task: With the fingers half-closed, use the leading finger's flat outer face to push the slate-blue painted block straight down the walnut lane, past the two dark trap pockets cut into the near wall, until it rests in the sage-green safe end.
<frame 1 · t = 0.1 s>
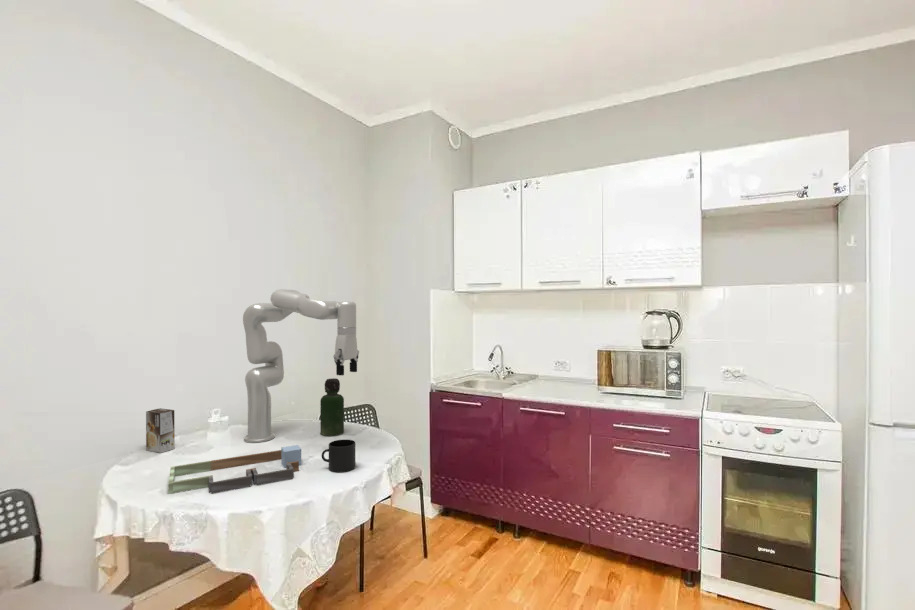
hand: (346, 373, 186), 31 cm above the table, tool pointing down, fingers open, 9 cm apart
green bottle: (332, 433, 209), on the table
trap box: (237, 473, 159), on the table
coffee box: (160, 450, 185), on the table
block: (291, 464, 168), on the table
mug: (338, 468, 164), on the table
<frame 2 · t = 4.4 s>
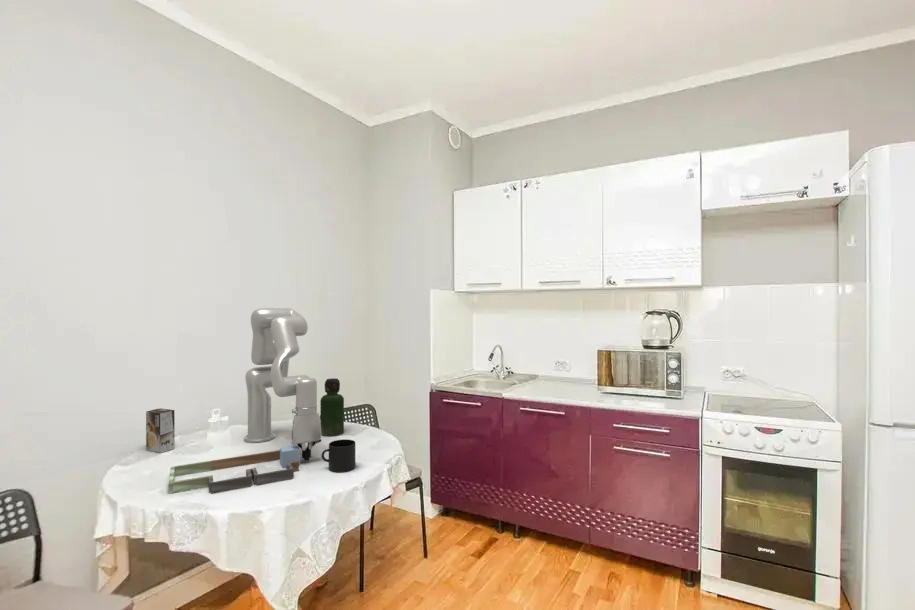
hand: (306, 459, 171), 1 cm above the table, tool pointing down, fingers closed
block: (289, 464, 168), on the table, touching gripper
everything else where it was.
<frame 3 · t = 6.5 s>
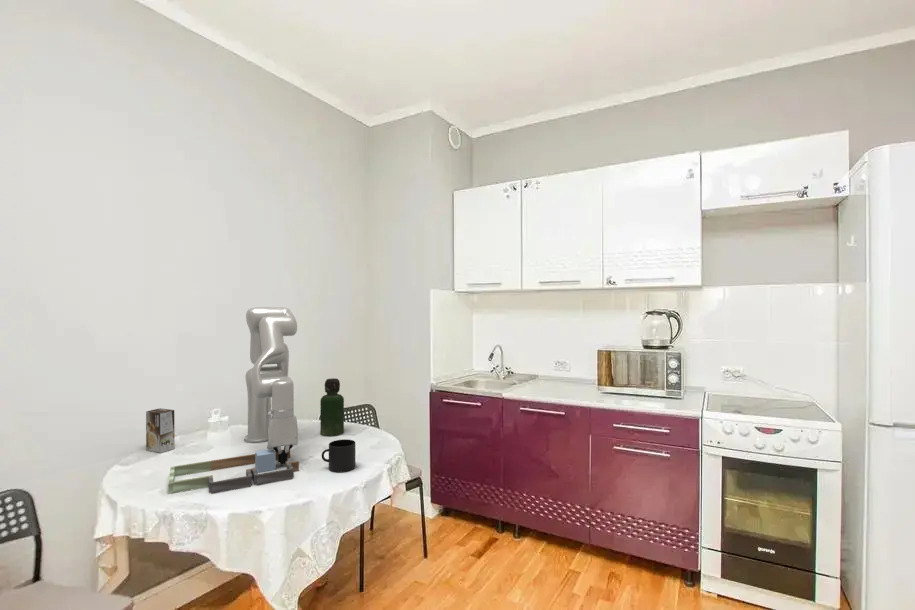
hand: (282, 463, 167), 1 cm above the table, tool pointing down, fingers closed
block: (265, 468, 164), on the table, touching gripper
everything else where it was.
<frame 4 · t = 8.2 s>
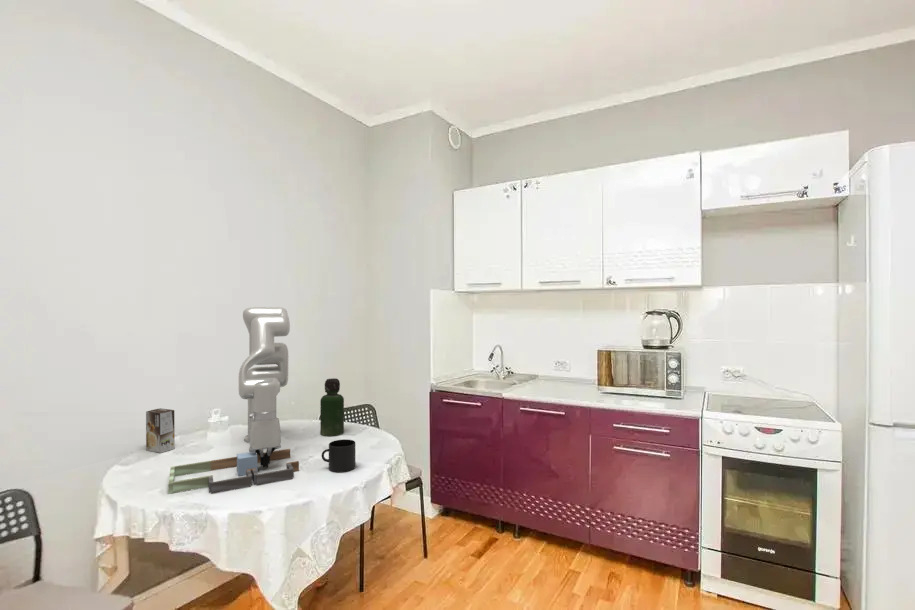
hand: (265, 466, 164), 1 cm above the table, tool pointing down, fingers closed
block: (247, 471, 160), on the table, touching gripper
everything else where it was.
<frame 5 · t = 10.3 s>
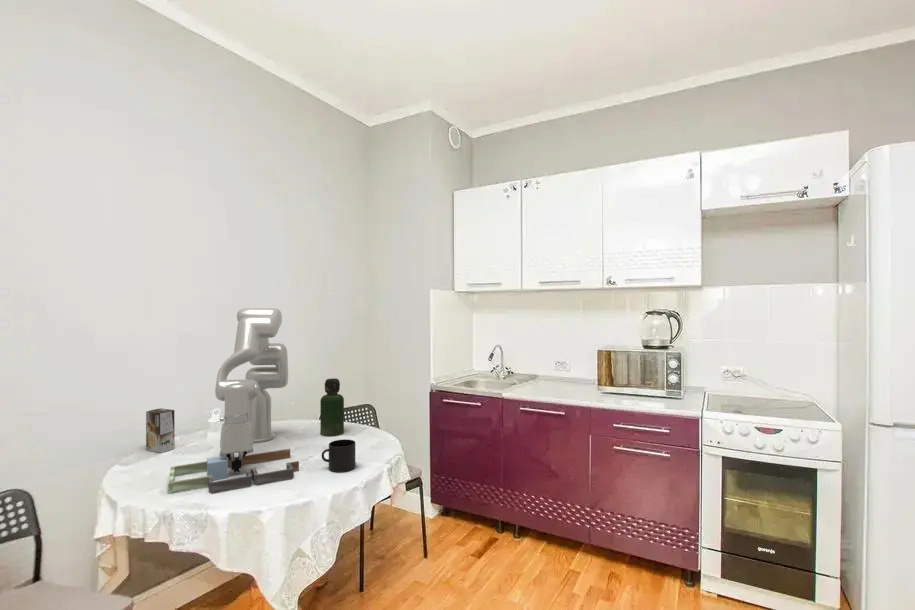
hand: (236, 471, 159), 1 cm above the table, tool pointing down, fingers closed
block: (217, 477, 156), on the table, touching gripper
everything else where it was.
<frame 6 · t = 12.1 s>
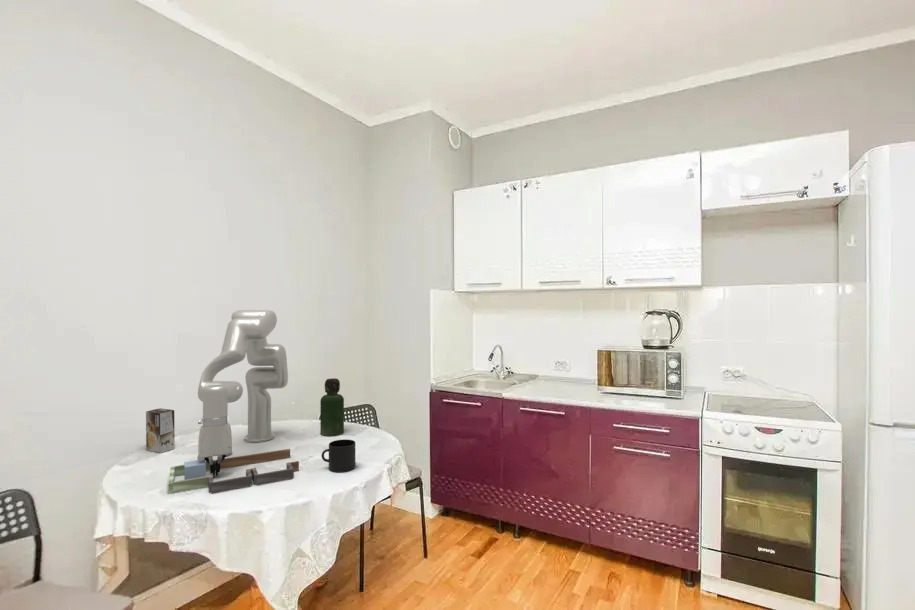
hand: (215, 474, 156), 1 cm above the table, tool pointing down, fingers closed
block: (195, 480, 152), on the table, touching gripper
everything else where it was.
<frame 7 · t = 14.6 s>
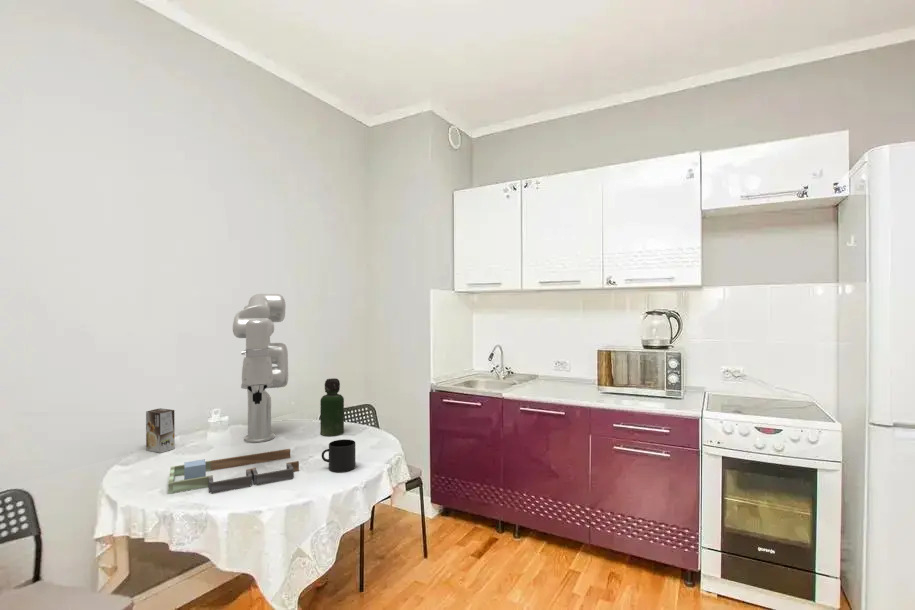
hand: (257, 403, 166), 23 cm above the table, tool pointing down, fingers closed
block: (194, 481, 152), on the table
everything else where it was.
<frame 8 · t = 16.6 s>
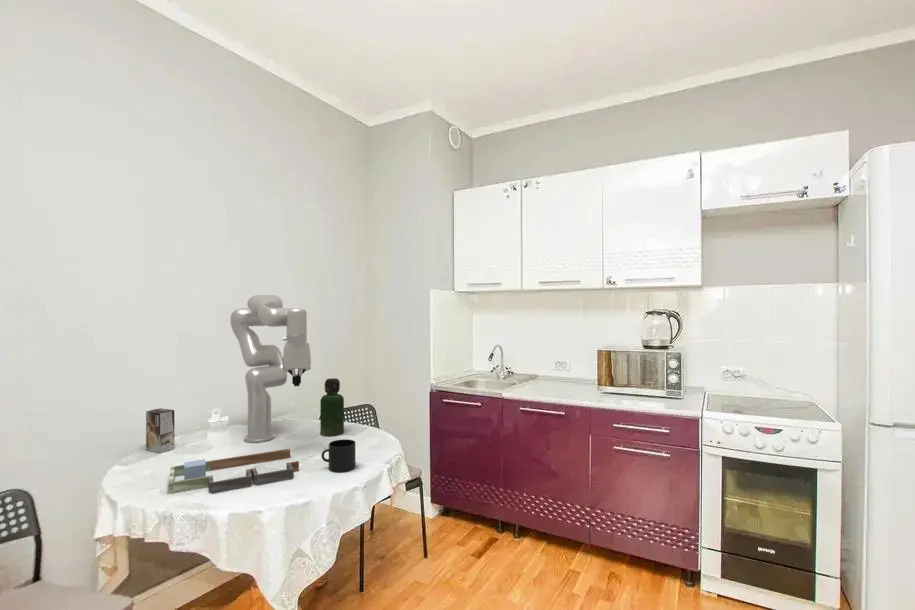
hand: (296, 385, 180), 27 cm above the table, tool pointing down, fingers closed
nothing on the table moved.
at the end: block inside the target area (0.5 cm from its centre), on the table; block tilted 0°; the gripper is holding nothing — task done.
